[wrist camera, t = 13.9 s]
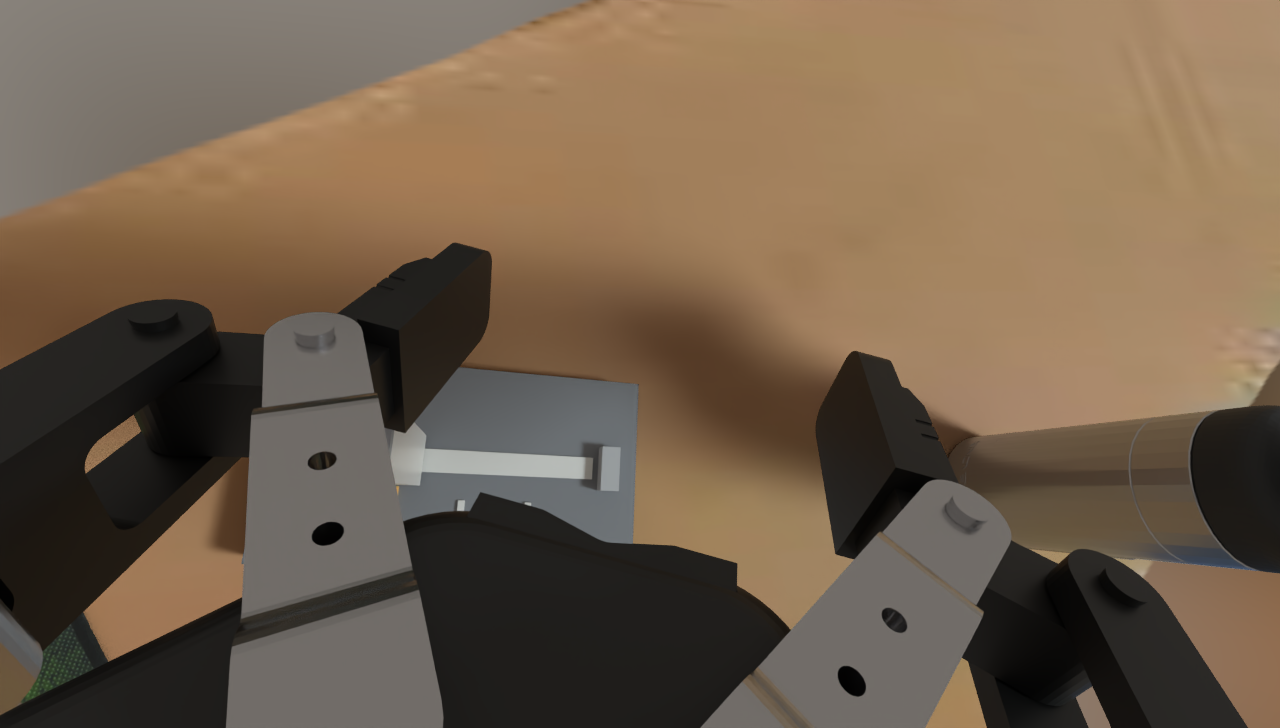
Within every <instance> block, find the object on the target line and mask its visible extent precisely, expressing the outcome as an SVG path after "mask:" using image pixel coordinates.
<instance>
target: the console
mask: <svg viewBox="0 0 1280 728" xmlns="http://www.w3.org/2000/svg"><path fill="white" fill-rule="evenodd" d="M638 385H639V384H630V383H620V382H609V381H599V380H588V379H577V378H567V377H556V376H546V375H535V374H525V373H514V372H504V371H493V370H483V369H472V368H461V367H459V368H458V369H457V370H456V371H455V373H454V374H453V375H452V376H451V377H450V379H449V380H448V381H447V382H446V384H445V385H444V386H443V387H442V389H441V390H440V391H439V392H438V394H437V395H436V396H435V397H434V399H433V400H432V401H431V402H430V403H429V405H428V406H427V407H426V408H425V410H424V411H423V412H422V413H421V415H420V416H419V417H418V418H417V420H416V421H415V422H414V423H415V424H416V425H417V426H418V427H419V428H420V429H421V430H422V431H423V432H424V433H425V434H426V443H425V450H424V458H423V466H422V473H421V481H420V486H417V485H396V489H397V494H398V499H399V504H400V509H401V514H402V519H403V521H405V520H408V519H411V518H415V517H418V516H422V515H426V514H432V513H439V512H447V511H470V510H471V508H472V506H473V504H474V502H475V501H476V499H477V497H478V495H479V493H480V492H482V493H486V494H490V495H493V496H497V497H500V498H504V499H508V500H511V501H515V502H518V503H522V504H526V505H529V506H533V507H536V508H540V509H543V510H545V511H547V512H549V513H551V514H553V515H554V516H556V517H558V518H560V519H562V520H564V521H566V522H567V523H569V524H571V525H573V526H575V527H577V528H578V529H580V530H582V531H584V532H586V533H588V534H590V535H591V536H593V537H595V538H597V539H599V540H601V541H605V542H610V543H628V544H633V521H634V494H635V467H636V440H637V413H638ZM244 554H245V549H244ZM244 554H243V559H242V563H241V564H244Z"/></svg>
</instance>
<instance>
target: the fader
mask: <svg viewBox="0 0 1280 728" xmlns="http://www.w3.org/2000/svg"><path fill="white" fill-rule="evenodd" d="M384 429H385V434H386V439H387V444H388V449H389V454H390V459H391V464H392V469H393V474H394V479H395V484H396V485H417V486H420V481H421V473H422V466H423V458H424V450H425V443H426V434H425V433H424V432H423V431H422V430H421V429H420V428H419V427H418V426H417V425H416V424H415V423H413V425H412V426H411V427H410V428H409V429H408V431H407V432H406V433H402V432H398V431H395V430H391V429H387V428H384Z"/></svg>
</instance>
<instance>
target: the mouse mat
mask: <svg viewBox="0 0 1280 728" xmlns="http://www.w3.org/2000/svg"><path fill="white" fill-rule="evenodd" d="M107 662H108V661H107V659H106V657H105V655H104V653H103V651H102V650H101V648H100V645H99V643H98V642H97V639H96V637H95V635H94V634H93V631H92V630H91V628H90V626H89V623H88V621H87V619H86V618H85V616H84V613H81V614H80V615H79V616H78V617H77V618H76V619H75V620H74V621H73V622H72V623H71V624H70V625H69V626H68V627H67V628H66V629H65V630H64V631H63V632H62V633H61V634H60V635H59V636H58V637H57V638H56V639H55V640H54V641H53V642H52V643H51V644H50V645H49V646H48V647H47V648H46V649H45V650H44V651H43V662H42V666H41V670H40V673H39V675H38V677H37V679H36V681H35V683H34V684H33V686H32V688H31V689H30V691H29V692H28V693H27V694H26V696H25V697H24V698H23V699H22V701H21V703H24V702H26V701H28V700H30V699H33V698H35V697H37V696H39V695H41V694H43V693H45V692H47V691H49V690H51V689H53V688H55V687H57V686H60V685H62V684H64V683H66V682H68V681H70V680H72V679H74V678H76V677H78V676H80V675H82V674H84V673H87V672H89V671H91V670H93V669H95V668H97V667H99V666H101V665H103V664H105V663H107Z"/></svg>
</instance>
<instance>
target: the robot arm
mask: <svg viewBox="0 0 1280 728" xmlns="http://www.w3.org/2000/svg"><path fill="white" fill-rule="evenodd" d="M491 269H492V258H491V254H490V253H489V252H488V251H485V250H481V249H478V248H474V247H470V246H467V245H463V244H459V243H452V244H451V245H450V246H448V247H447V248H446V249H444V250H443V251H442V252H441V253H439V254H438V255H437V256H436V257H434V258H433V259H429V258H423V259H420V260H416V261H413V262H410V263H407V264H404V265H402V266H401V267H400V268H398V269H397V270H396V271H394V272H393V273H392V274H390V275H389V278H385V279H383V280H382V281H381V282H379V283H378V284H377V286H376V287H373V288H371V289H370V290H369V291H367V292H366V293H364V294H363V295H362V296H360V297H359V298H358V299H356V300H355V301H354V302H352V303H351V304H350V305H348V306H347V307H346V308H344V309H343V310H341V311H340V312H339V313H337V314H335V313H328V312H311V313H303V314H298V315H294V316H290V317H287V318H285V319H282V320H280V321H278V322H277V323H275V324H274V325H272V326H271V327H270V328H269V329H268V330H267V332H266V333H265V335H261V334H246V333H231V332H217V330H216V327H215V324H214V320H213V317H212V314H211V312H210V311H209V309H207V308H206V307H204V306H202V305H200V304H198V303H194V302H190V301H185V300H172V299H164V300H152V301H145V302H139V303H135V304H131V305H127V306H124V307H122V308H119V309H116V310H114V311H112V312H110V313H108V314H106V315H104V316H102V317H100V318H98V319H96V320H95V321H93V322H91V323H89V324H87V325H85V326H83V327H81V328H79V329H77V330H75V331H73V332H71V333H70V334H68V335H66V336H64V337H62V338H60V339H58V340H56V341H54V342H52V343H50V344H48V345H47V346H45V347H43V348H41V349H39V350H37V351H35V352H33V353H31V354H29V355H27V356H25V357H23V358H22V359H20V360H18V361H16V362H14V363H12V364H10V365H8V366H6V367H4V368H2V369H0V728H925V727H926V725H927V723H928V721H929V719H930V717H931V715H932V713H933V712H934V710H935V708H936V706H937V704H938V702H939V700H940V698H941V696H942V694H943V692H944V690H945V689H946V687H947V685H948V683H949V681H950V679H951V677H952V675H953V673H954V671H955V669H956V667H957V666H958V664H959V662H960V660H961V658H963V659H965V660H967V661H968V663H969V666H970V670H971V673H972V677H973V680H974V684H975V687H976V691H977V694H978V698H979V701H980V705H981V708H982V712H983V715H984V719H985V722H986V726H987V728H1088V725H1087V723H1086V721H1085V718H1084V716H1083V714H1082V711H1081V709H1080V707H1079V704H1078V702H1077V700H1076V697H1077V696H1078V695H1080V694H1081V693H1083V692H1084V691H1085V690H1087V689H1089V688H1090V687H1092V686H1093V688H1094V690H1095V693H1096V695H1097V697H1098V699H1099V701H1100V703H1101V706H1102V708H1103V710H1104V712H1105V714H1106V717H1107V719H1108V721H1109V723H1110V726H1111V728H1248V727H1247V726H1246V724H1245V723H1244V721H1243V719H1242V718H1241V716H1240V715H1239V713H1238V712H1237V710H1236V709H1235V707H1234V706H1233V704H1232V703H1231V701H1230V700H1229V698H1228V697H1227V695H1226V694H1225V692H1224V690H1223V689H1222V688H1221V686H1220V684H1219V683H1218V681H1217V680H1216V678H1215V677H1214V675H1213V674H1212V672H1211V671H1210V669H1209V667H1208V666H1207V664H1206V663H1205V662H1204V660H1203V658H1202V657H1201V655H1200V654H1199V652H1198V651H1197V649H1196V648H1195V646H1194V645H1193V643H1192V642H1191V640H1190V638H1189V637H1188V636H1187V634H1186V633H1185V631H1184V630H1183V628H1182V627H1181V625H1180V623H1179V622H1178V620H1177V619H1176V617H1175V616H1174V614H1173V613H1172V611H1171V610H1170V608H1169V606H1168V605H1167V604H1166V602H1165V601H1164V599H1163V598H1162V597H1161V596H1160V595H1159V593H1158V592H1157V591H1156V590H1155V589H1154V588H1153V587H1152V586H1151V585H1150V584H1149V583H1148V582H1147V581H1146V580H1144V579H1143V578H1142V577H1141V576H1140V575H1138V574H1137V573H1136V572H1134V571H1133V570H1132V569H1130V568H1129V567H1127V566H1126V565H1124V564H1123V563H1121V562H1119V561H1117V560H1116V559H1114V558H1120V559H1129V560H1133V559H1144V560H1154V561H1163V562H1174V563H1183V564H1196V565H1205V566H1215V567H1224V568H1235V569H1244V570H1254V571H1264V572H1272V573H1280V406H1251V407H1242V408H1233V409H1225V410H1215V411H1206V412H1197V413H1188V414H1178V415H1169V416H1162V417H1153V418H1144V419H1135V420H1125V421H1116V422H1107V423H1098V424H1089V425H1080V426H1070V427H1061V428H1052V429H1043V430H1034V431H1025V432H1015V433H1006V434H997V435H987V436H978V437H971V438H968V439H965V440H963V441H962V442H961V443H959V444H958V445H957V446H956V447H955V448H954V449H953V451H952V452H951V454H950V456H949V458H947V456H946V453H945V451H944V449H943V447H942V444H941V442H939V441H938V436H937V433H936V431H935V429H934V427H931V425H932V422H931V420H930V418H929V415H928V413H927V411H926V409H925V407H924V405H923V404H922V403H921V402H920V401H919V400H918V399H917V398H916V397H915V396H914V395H913V394H912V392H911V391H910V390H909V389H907V388H904V387H902V386H901V384H900V382H899V379H898V377H897V374H896V372H895V369H894V367H893V365H892V363H891V361H890V360H887V359H884V358H880V357H876V356H872V355H869V354H865V353H861V352H858V351H853V352H851V353H850V354H849V355H848V357H847V358H846V360H845V362H844V363H843V365H842V367H841V369H840V371H839V373H838V375H837V377H836V379H835V381H834V382H833V384H832V386H831V388H830V390H829V392H828V394H827V396H826V398H825V399H824V401H823V403H822V405H821V407H820V410H819V413H818V416H817V421H816V438H817V444H818V450H819V457H820V463H821V469H822V475H823V481H824V487H825V493H826V499H827V505H828V512H829V518H830V524H831V530H832V536H833V542H834V548H835V554H837V555H840V556H844V557H847V558H851V559H854V560H853V562H852V563H851V564H850V565H849V566H848V567H847V568H846V569H845V571H844V572H843V573H842V574H841V575H840V576H839V577H838V578H837V579H836V581H835V582H834V583H833V584H832V585H831V586H830V587H829V588H828V589H827V591H826V592H825V593H824V594H823V595H822V596H821V597H820V598H819V600H818V601H817V602H816V603H815V604H814V605H813V606H812V607H811V608H810V610H809V611H808V612H807V613H806V614H805V615H804V616H803V617H802V619H801V620H800V621H799V622H798V623H797V624H796V625H795V626H794V627H793V629H792V630H790V629H789V627H788V626H787V625H786V624H785V623H784V622H783V621H782V620H781V619H780V618H779V617H778V616H777V615H776V614H775V613H774V612H773V611H772V610H771V609H770V608H769V607H767V606H766V605H765V604H764V603H762V602H761V601H760V600H759V599H757V598H756V597H754V596H753V595H751V594H750V593H748V592H747V591H746V590H744V589H742V588H740V587H739V586H737V563H734V562H730V561H727V560H723V559H720V558H716V557H712V556H709V555H705V554H702V553H698V552H694V551H691V550H687V549H684V548H680V547H677V546H669V545H649V544H628V543H610V542H605V541H601V540H599V539H597V538H595V537H593V536H591V535H590V534H588V533H586V532H584V531H582V530H580V529H578V528H577V527H575V526H573V525H571V524H569V523H567V522H566V521H564V520H562V519H560V518H558V517H556V516H554V515H553V514H551V513H549V512H547V511H545V510H543V509H540V508H536V507H533V506H529V505H526V504H522V503H518V502H515V501H511V500H508V499H504V498H500V497H497V496H493V495H490V494H486V493H482V492H480V493H479V495H478V497H477V499H476V501H475V502H474V504H473V506H472V508H471V510H470V511H447V512H439V513H432V514H426V515H422V516H418V517H415V518H411V519H408V520H405V521H403V519H402V514H401V509H400V504H399V499H398V494H397V489H396V484H395V479H394V474H393V469H392V464H391V459H390V454H389V449H388V444H387V439H386V434H385V429H384V428H387V429H391V430H395V431H398V432H402V433H406V432H407V431H408V429H409V428H410V427H411V426H412V425H413V423H414V422H415V421H416V420H417V418H418V417H419V416H420V415H421V413H422V412H423V411H424V410H425V408H426V407H427V406H428V405H429V403H430V402H431V401H432V400H433V399H434V397H435V396H436V395H437V394H438V392H439V391H440V390H441V389H442V387H443V386H444V385H445V384H446V382H447V381H448V380H449V379H450V377H451V376H452V375H453V374H454V373H455V371H456V370H457V369H458V368H459V366H460V365H461V364H462V363H463V361H464V360H465V359H466V358H467V356H468V355H469V354H470V353H471V352H472V350H473V349H474V348H475V347H476V345H477V344H478V343H479V342H480V340H481V339H482V337H483V335H484V333H485V330H486V327H487V323H488V319H489V307H490V288H491ZM132 415H134V416H135V418H136V420H137V422H138V425H139V427H140V429H141V432H140V433H139V434H138V435H136V436H135V437H134V438H132V439H131V440H130V441H128V442H127V443H126V444H124V445H123V446H122V447H120V448H119V449H118V450H116V451H115V452H114V453H112V454H111V455H110V456H109V457H107V458H106V459H105V460H103V461H102V462H101V463H99V464H98V465H97V466H95V467H94V468H93V469H91V470H90V471H89V472H87V473H86V474H85V469H84V468H85V460H86V457H87V455H88V453H89V451H90V449H91V448H92V447H93V445H94V444H95V443H96V442H97V441H98V440H99V439H100V438H102V437H103V436H104V435H106V434H107V433H109V432H110V431H111V430H113V429H114V428H115V427H117V426H118V425H120V424H121V423H122V422H124V421H125V420H127V419H128V418H129V417H131V416H132ZM241 457H249V472H248V493H247V513H246V533H245V554H244V574H243V594H242V598H240V599H238V600H236V601H234V602H231V603H229V604H227V605H225V606H223V607H221V608H219V609H217V610H215V611H213V612H211V613H209V614H207V615H205V616H203V617H200V618H198V619H196V620H194V621H192V622H190V623H188V624H186V625H184V626H182V627H180V628H178V629H176V630H174V631H171V632H169V633H167V634H165V635H163V636H161V637H159V638H157V639H155V640H153V641H151V642H149V643H147V644H145V645H143V646H140V647H138V648H136V649H134V650H132V651H130V652H128V653H126V654H124V655H122V656H120V657H118V658H116V659H113V660H111V661H109V662H107V663H105V664H103V665H101V666H99V667H97V668H95V669H93V670H91V671H89V672H87V673H84V674H82V675H80V676H78V677H76V678H74V679H72V680H70V681H68V682H66V683H64V684H62V685H60V686H57V687H55V688H53V689H51V690H49V691H47V692H45V693H43V694H41V695H39V696H37V697H35V698H33V699H30V700H28V701H26V702H24V703H21V701H22V699H23V698H24V697H25V696H26V694H27V693H28V692H29V691H30V689H31V688H32V686H33V684H34V683H35V681H36V679H37V677H38V675H39V673H40V670H41V666H42V662H43V651H44V650H45V649H46V648H47V647H48V646H49V645H50V644H51V643H52V642H53V641H54V640H55V639H56V638H57V637H58V636H59V635H60V634H61V633H62V632H63V631H64V630H65V629H66V628H67V627H68V626H69V625H70V624H71V623H72V622H73V621H74V620H75V619H76V618H77V617H78V616H79V615H80V614H81V613H83V612H84V611H85V610H86V609H87V608H88V607H89V606H90V605H91V604H92V603H93V602H94V601H95V600H96V599H97V598H98V597H99V596H100V595H101V594H102V593H103V592H104V591H105V590H106V589H107V588H108V587H109V586H110V585H111V584H112V583H113V582H114V581H115V580H116V579H117V578H118V577H119V576H120V575H121V574H122V573H123V572H124V571H126V570H127V569H128V568H129V567H130V566H131V565H132V564H133V563H134V562H135V561H136V560H137V559H138V558H139V557H140V556H141V555H142V554H143V553H144V552H145V551H146V550H147V549H148V548H149V547H150V546H151V545H152V544H153V543H154V542H155V541H156V540H157V539H158V538H159V537H160V536H161V535H162V534H163V533H164V532H165V531H166V530H167V529H168V528H170V527H171V526H172V525H173V524H174V523H175V522H176V521H177V520H178V519H179V518H180V517H181V516H182V515H183V514H184V513H185V512H186V511H187V510H188V509H189V508H190V507H191V506H192V505H193V504H194V503H195V502H196V501H197V500H198V499H199V498H200V497H201V496H202V495H203V494H204V493H205V492H206V491H207V490H208V489H209V488H210V487H211V486H213V485H214V484H215V483H216V482H217V481H218V480H219V479H220V478H221V477H222V476H223V475H224V474H225V473H226V472H227V471H228V470H229V469H230V468H231V467H232V466H233V465H234V464H235V463H236V462H237V461H238V460H239V459H240V458H241ZM1029 549H1034V550H1044V551H1053V552H1063V553H1070V554H1069V555H1068V556H1067V557H1066V558H1065V559H1064V560H1062V561H1061V562H1060V563H1059V564H1057V563H1055V562H1053V561H1051V560H1049V559H1047V558H1045V557H1043V556H1041V555H1039V554H1037V553H1035V552H1033V551H1031V550H1029Z"/></svg>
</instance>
